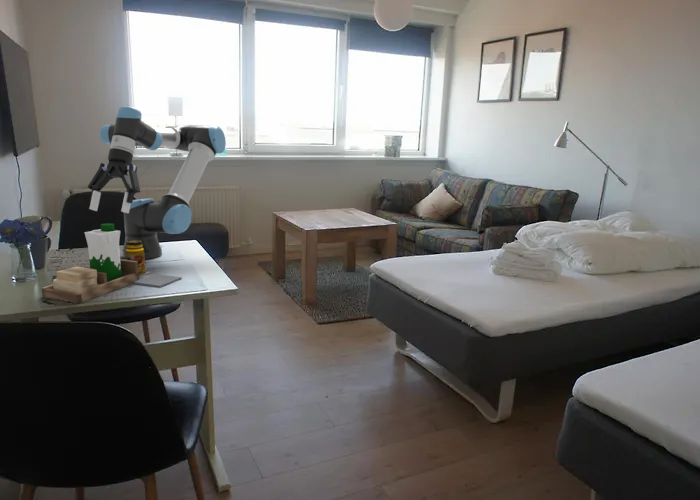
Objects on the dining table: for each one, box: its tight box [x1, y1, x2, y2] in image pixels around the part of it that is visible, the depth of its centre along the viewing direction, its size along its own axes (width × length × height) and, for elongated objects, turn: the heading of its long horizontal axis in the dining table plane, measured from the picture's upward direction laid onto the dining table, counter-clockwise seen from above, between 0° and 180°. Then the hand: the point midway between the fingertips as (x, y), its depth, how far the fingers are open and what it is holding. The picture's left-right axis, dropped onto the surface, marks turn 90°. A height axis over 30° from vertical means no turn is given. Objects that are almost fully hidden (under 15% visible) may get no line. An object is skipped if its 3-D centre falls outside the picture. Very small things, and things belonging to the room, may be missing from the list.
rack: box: [41, 258, 140, 304], centre depth 165 cm, size 25×14×7 cm, turn 161°
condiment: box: [125, 240, 152, 277], centre depth 183 cm, size 7×8×12 cm
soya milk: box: [84, 222, 122, 282], centre depth 169 cm, size 9×9×20 cm
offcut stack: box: [52, 265, 99, 293], centre depth 159 cm, size 8×10×8 cm
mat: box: [133, 273, 182, 288], centre depth 175 cm, size 11×11×1 cm
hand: (108, 211), depth 172 cm, fingers open, 13 cm apart
